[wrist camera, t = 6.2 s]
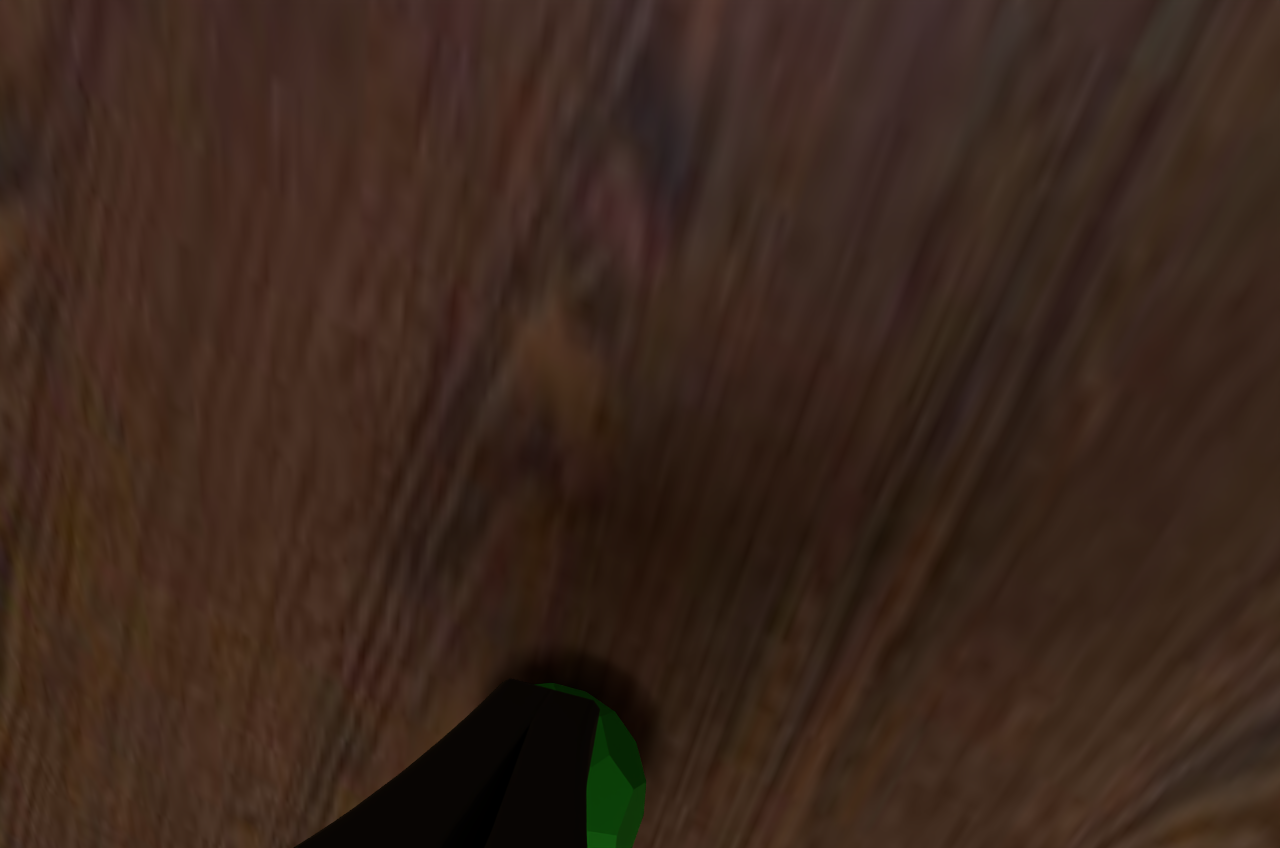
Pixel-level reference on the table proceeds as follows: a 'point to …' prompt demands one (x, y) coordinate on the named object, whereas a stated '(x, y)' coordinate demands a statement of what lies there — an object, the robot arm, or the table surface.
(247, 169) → the table surface
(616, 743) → the polyhedron
